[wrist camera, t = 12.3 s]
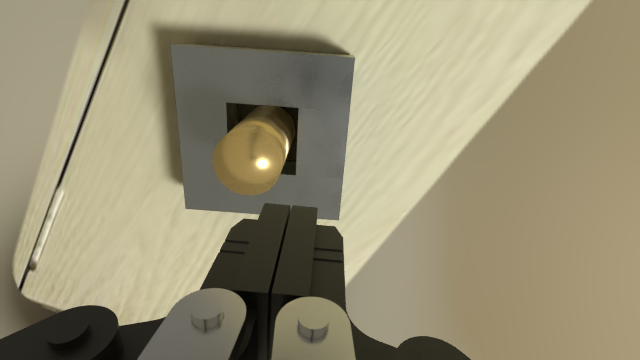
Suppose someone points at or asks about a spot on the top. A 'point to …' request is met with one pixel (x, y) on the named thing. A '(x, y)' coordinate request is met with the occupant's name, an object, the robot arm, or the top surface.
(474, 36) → the top surface
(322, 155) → the frame
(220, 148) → the brass cylinder
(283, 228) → the robot arm
